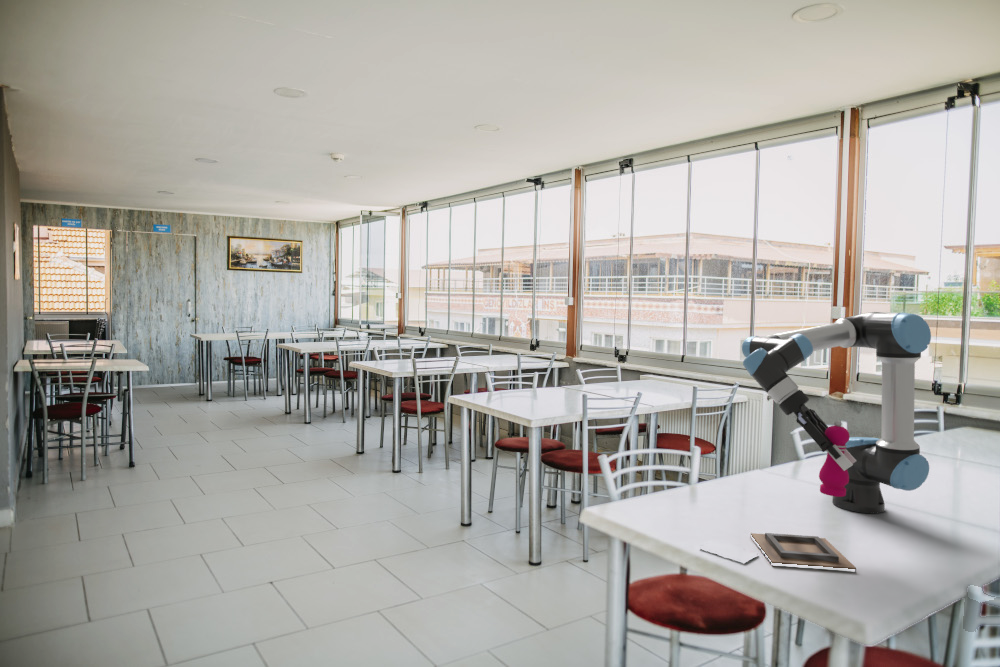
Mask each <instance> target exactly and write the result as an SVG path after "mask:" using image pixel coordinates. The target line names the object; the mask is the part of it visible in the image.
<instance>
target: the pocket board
mask: <svg viewBox="0 0 1000 667" xmlns="http://www.w3.org/2000/svg"><path fill="white" fill-rule="evenodd" d="M751 535H752V537H753V538H754V539H755V541H756V542H757V543H758V544H759V546H760V547H761V549H762V550H763V551H764V552H765V554H766V555H767V556H768V558H769V559H770V560H771V562H772V563H782V564H797V565H808V566H823V567H833V568H848V569H856V570H857V567H856V566H855V565H854V564H853V563H852V562H851V561H850V560H848V558H847V557H845V556H844V555H843V554H842V553H841V552H840V551H839V550H838V549H837V548H836V547H835V546H834V545H832V543H831V542H829V540H828V539H826V538H824V537H820V536H814V535H804V534H803V535H801V534H788V533H787V534H785V533H771V532H765V533H753V532H750V536H751Z"/></svg>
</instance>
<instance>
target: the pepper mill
mask: <svg viewBox="0 0 1000 667" xmlns="http://www.w3.org/2000/svg"><path fill="white" fill-rule="evenodd" d="M833 424H834V425H830V426H828V428H827V429H826V430H825V435H826V436H827V437H828V438H829V440H830V441H831V442H832V443H833V445H836V446H837V447H838V448H839V449H840V450H841V452H842V453H843V454H844V452H845V451H846V450H847V449H846V447H847V446H846V445H845V444H846V443H847V442H848V441H849V438H850V437H851V436H850V432H849V430H847V428H846V427H843V426H842V421H841V420H838V419H837V420H835V421H834V422H833ZM826 452H827V451H826ZM818 478H819V480H820V481H821V483H822V484H820V486H819V492H820V493H821V494H823V495H826V496H830V497H833V496H836V497H843V496H845V495H846V488H844V486H845V485H847V484H848V482H849V474H848V471H847V469H846V470H845V471H844V470H843V469H842V468H841V467H840V466H839V465H838V464H837V462H836V461H835V460H834V459H833V458H832V457H831V456H830V455H829V453H828V452H827V453H826V458H825V462H824V463H823V465H822V467H821V468H820V470H819V474H818Z"/></svg>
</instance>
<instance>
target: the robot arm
mask: <svg viewBox="0 0 1000 667" xmlns="http://www.w3.org/2000/svg"><path fill="white" fill-rule="evenodd" d="M931 333H932V332H931V329H930V326H929V324H928V322H927V321H926V319H925V320H924V317H922V316H920V315H919V314H915V313H908V312H881V311H872V312H865V313H860V314H856V315H852V316H847V317H843V318H838V319H837V320H835V321H834V322H831V323H827V324H823V325H818V326H812V327H807V328H806V327H805V328H801V329H796V330H790V331H785V332H780V333H775V334H769V335H765V336H759V335H754V336H753V335H751V336H748V337H747V338H746V339H744V341H743V343H742V346H741V351H742V354H743V356H744V357H745V359H744V360H743V362H742V365H743V366H744V368H745V370H746V371H747V372H748V373H749V375H750V377H752V378H753V379H754V380H755V381H756V382H757V384H758V385H759V386H760V387H761V388H762V389H763V390H764V391H765V393H767V394H768V399H770V400H773V401H774V403H775V404H778V407H779V409H780V410H781V411H782V412H783V413H784V414H785V416H789V415H792V414H794V416H795V417H796V419H795V421H796V423H798V424H799V425H800V426H801V427H802V428H803V429H804V431H805V432H806V433H807V434H808V435H809V437H811V439H812V440H813V441H814V442H815V443H816V444H817V445H818V446H819V448H820V449H821V452H822V453H825V452H828V453H829V455H830V456H831V457H832V458H833V459H834V460H835V461H836V462H837V464H838V465H839V466H840V467H841V468H842V469H843V470H844V471H845V470H846V469H847V471H848V474H849V482H848V484H847V485H845V486H844V488H846V495H845V496H843V497H836V496H832V504H833V505H835V506H836V507H839V508H841V509H843V510H847V511H851V512H855V513H862V514H881V513H884V512H885V506H886V505H885V500H884V497H883V494H882V490H881V484H884V485H886V486H889V487H891V488H893V489H896V490H903V491H906V492H907V491H914V490H917V489H918V488H920V487H921V486H922V485H923V484H924V483H925V481H926V480H927V478H928V477H929V476H928V475H929V473H930V465H929V461H928V460H927V458H926V457H925V456H923V455H922V454H921V452H920V451H921V449H920V448H921V447H920V444H919V443H918V442H916V440H915V385H916V384H915V383H916V382H915V380H916V379H915V378H916V377H915V373H916V372H915V371H916V370H915V369H916V368H915V367H916V366H915V365H916V362H917V361H919V360H920V359H921V358H922V357H921V356H922V352H925V350H927V349H928V345H930V343H931V338H932V334H931ZM838 347H840V348H842V349H843V348H844V349H849V348H867V349H868V348H869V349H874V350H875V351H876V352H875V354H876V356H875V357H876V358H877V359H878V360H880V361H881V429H880V430H881V437H880V438H879V437H871V436H870V437H867V436H866V437H865V436H864V437H863V436H850V438H849V441H848V442H847V443H846V444H845V445H846V446H847V447H846V449H847V450H846V451H845V452H844V454H843V453H842V452H841V450H840V449H839V448H838V447H837V446H836V445H833V443H832V442H831V441H830V440H829V438H828V437H827V436H826V435H825V430H826V429H827V428H828V427H829V426H828V424H826V423H825V421H823V419H822V418H821V417H820V416H819V415H818V414H817V412H816V411H815V409H812V408H808V407H807V406H806V404H807V403H808V402H809V400H810V398H809V397H808V396H807V395H806V393H805V392H804V391H803V390H802V389H799V386H798V385H797V383H796V382H795V381H794V380H793V379H792V378H791V377H790V376H789V375H788V374H787V372H788V371H789V370H792V369H793V368H794V367H797V365H799V364H801V363H802V362H804V361H806V360H807V358H809V357H810V356H812V354H813V352H817V351H822V350H826V349H832V348H838Z"/></svg>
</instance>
